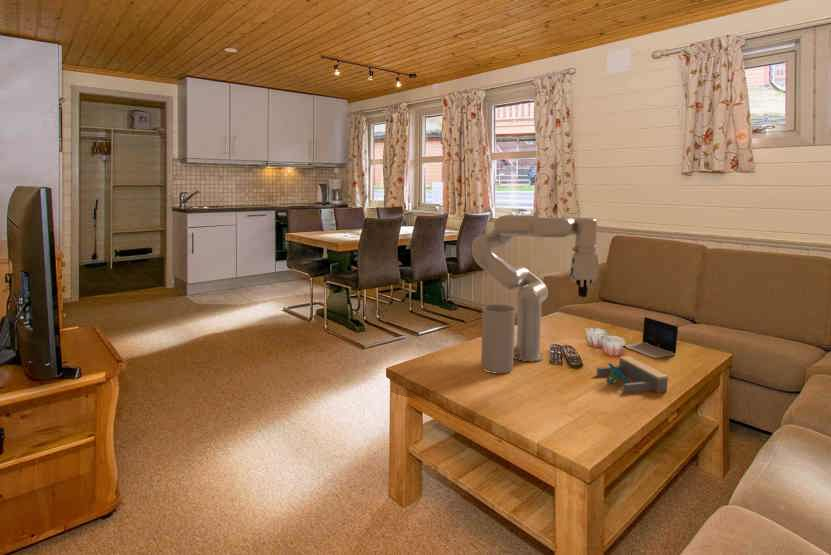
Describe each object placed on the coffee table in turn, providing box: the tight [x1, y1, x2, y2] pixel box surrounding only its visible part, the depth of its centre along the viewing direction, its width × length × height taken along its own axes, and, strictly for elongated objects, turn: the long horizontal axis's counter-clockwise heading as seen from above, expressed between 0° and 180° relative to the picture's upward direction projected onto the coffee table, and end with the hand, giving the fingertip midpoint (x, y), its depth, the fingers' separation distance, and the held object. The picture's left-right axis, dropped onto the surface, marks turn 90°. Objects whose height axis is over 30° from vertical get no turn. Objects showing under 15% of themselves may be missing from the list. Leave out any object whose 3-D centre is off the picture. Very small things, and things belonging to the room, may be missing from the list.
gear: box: [606, 362, 631, 384], centre depth 189 cm, size 11×6×10 cm
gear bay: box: [596, 355, 669, 394], centre depth 189 cm, size 15×22×6 cm
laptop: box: [625, 316, 679, 359], centre depth 224 cm, size 18×12×13 cm
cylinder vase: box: [480, 303, 516, 374], centre depth 201 cm, size 12×12×25 cm
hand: (582, 296), depth 201 cm, fingers closed
